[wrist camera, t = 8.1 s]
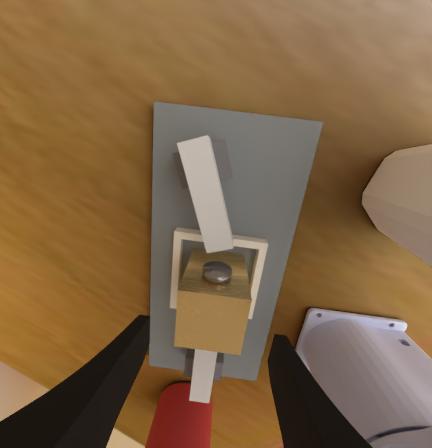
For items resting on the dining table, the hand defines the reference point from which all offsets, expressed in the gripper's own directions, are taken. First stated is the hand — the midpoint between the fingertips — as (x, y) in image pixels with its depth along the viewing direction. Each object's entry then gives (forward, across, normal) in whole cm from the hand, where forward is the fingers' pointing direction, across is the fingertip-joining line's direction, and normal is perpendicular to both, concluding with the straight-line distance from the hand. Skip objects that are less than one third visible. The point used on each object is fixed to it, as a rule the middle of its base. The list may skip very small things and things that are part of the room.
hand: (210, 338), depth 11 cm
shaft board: (+8, 0, 0) cm, 8 cm away
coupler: (+7, 0, 0) cm, 7 cm away
